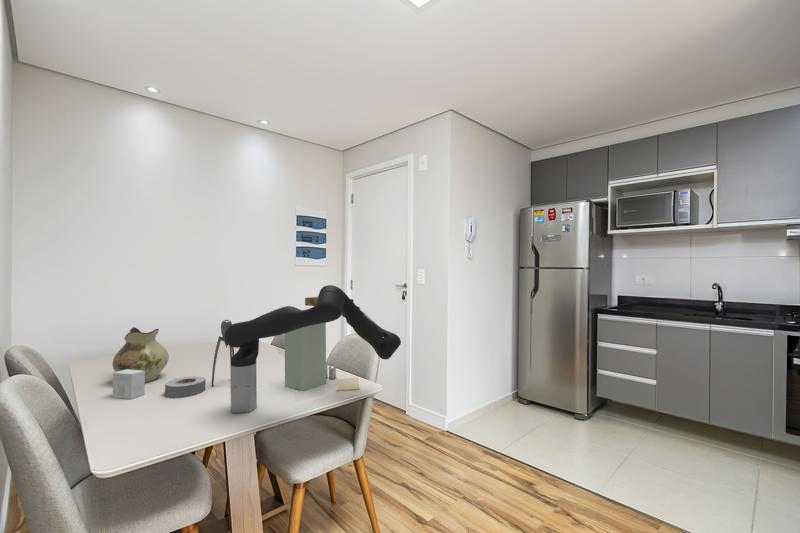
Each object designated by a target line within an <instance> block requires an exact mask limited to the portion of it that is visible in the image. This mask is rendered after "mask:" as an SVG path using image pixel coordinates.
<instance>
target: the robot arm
mask: <svg viewBox="0 0 800 533" xmlns="http://www.w3.org/2000/svg"><path fill="white" fill-rule="evenodd" d="M317 297H318V299H317V303H316V305H315V306H311V307H310V308H307V309H303V310H302V309H300V308H297V307H295V306H289V305H287V306H281V307H279V308H277V309H274V310H271V311H269V312H266V313H264V314H262V315H259V316H257V317H256V318H252V319H250V320H247V321H241V322H235V323H232V325H230V326H229V327H228V328H227V330H226V331H225V334H224V339H225V341H226V343H227V344H228V346H231V347H233V348H237V349H238V350H237V352H236V353H234V354H235V355H233V356H232V357H231V361H230V360H229V362H230V365H229V366H230V411H231V413H232V414H240V413H250V412H251V411H253V410H255V409H257V407H258V404H257V403H258V398H257V397H258V396H257V395H258V394H257V393H258V392H257V386H258V385H257V358H258V356H259V351H260V350H259V349H260V348H259V347H260V339H265V338H271V337H277V336H280V335H285V333H288V332H291V331H294V330H296V329H300V328H303V327H307V326H311V325H316V324H321V323H326V324H327V323H329V322H330V323H331V322H334V321H337V320H338V319H340V318H341V317H343V318H345V319H346V323H347V324H348V325H349V326H350V327H351V328H352V329H353V331H354V332H355V333H356V334H357V335H358V337H360V338H361V339H363V340H364V341H365V342H366V343H368V344H369V345H370V346H371V348H373V350H374V352H375V353H376V355H377V356H378V357H379V358H380V359H382V360H385V361H386V360H389V359H391V357H392V356H393V355H394V353H395V352H396V351H397V350H398V348H399V347H400V345H401V344H402V341H401V337H400V336H399V335H397V333H394V332H391V331H388V330H386V329H384V328H382V327H381V326H379V325H378V324H377V323H376V322H375V321H374V320H372V318H371V317H370V316H368V315H367V314H366V313H365V312H364V311H363V310H361V307H360V306H358V305H356V304H355V302H354V301H353V302H352V301H351V299H352V298H350V297H349V296H348V295H347V293H346V292H344V291H343V290H342V288H340V287H338V286H335V285H333V284H330V285H329V284H328V285H325V286H323V287H322V288H321V289H320V290H319V292H318V295H317Z"/></svg>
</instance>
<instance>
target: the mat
mask: <svg viewBox="0 0 800 533" xmlns="http://www.w3.org/2000/svg"><path fill="white" fill-rule="evenodd" d="M345 391H347V392H348V391H360V384H359V379H358V377H351V378H350V377H349V378H336V391H335V392H345Z"/></svg>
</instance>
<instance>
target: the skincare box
mask: <svg viewBox="0 0 800 533" xmlns="http://www.w3.org/2000/svg"><path fill="white" fill-rule="evenodd" d="M145 383H146V382H145V371H141V370H129V369H126V370H122V371H117V372H115V371H114V372H112V398H114V397H115V398H117V399H118V398H119V399H125V400H133V399H135V398H136V399H137V398H139V397H142V396H144V395H145V391H146V390H145V388H146V386H145Z"/></svg>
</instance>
